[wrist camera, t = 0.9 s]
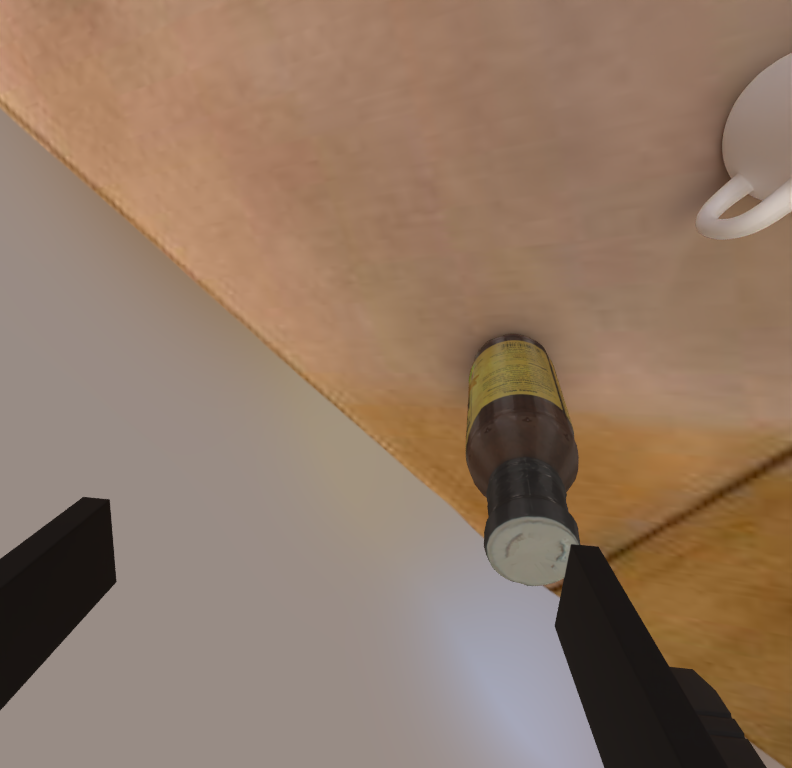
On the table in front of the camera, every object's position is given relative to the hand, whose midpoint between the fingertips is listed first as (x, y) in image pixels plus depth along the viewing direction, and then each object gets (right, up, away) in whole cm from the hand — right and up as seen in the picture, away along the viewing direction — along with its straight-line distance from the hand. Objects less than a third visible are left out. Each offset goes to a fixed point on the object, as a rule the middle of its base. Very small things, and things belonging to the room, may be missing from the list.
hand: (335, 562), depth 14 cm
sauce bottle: (+11, +6, +25) cm, 28 cm away
